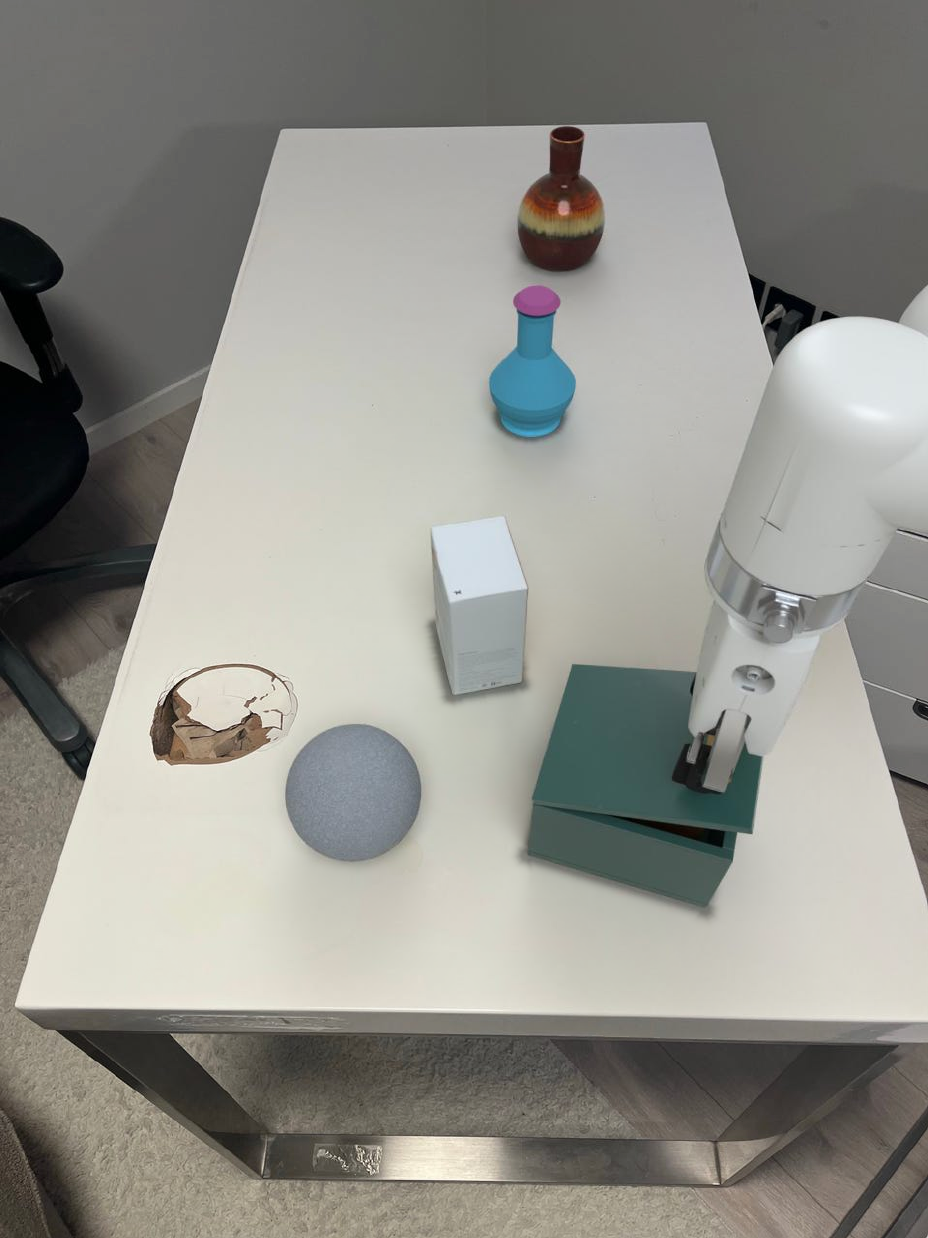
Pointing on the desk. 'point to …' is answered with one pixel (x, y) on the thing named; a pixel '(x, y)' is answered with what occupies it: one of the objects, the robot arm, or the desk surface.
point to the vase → (561, 208)
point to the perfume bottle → (533, 370)
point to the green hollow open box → (633, 852)
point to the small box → (479, 604)
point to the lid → (636, 752)
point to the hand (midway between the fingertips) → (705, 738)
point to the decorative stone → (353, 792)
